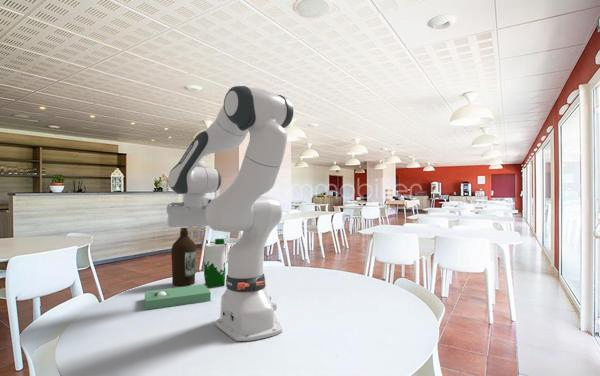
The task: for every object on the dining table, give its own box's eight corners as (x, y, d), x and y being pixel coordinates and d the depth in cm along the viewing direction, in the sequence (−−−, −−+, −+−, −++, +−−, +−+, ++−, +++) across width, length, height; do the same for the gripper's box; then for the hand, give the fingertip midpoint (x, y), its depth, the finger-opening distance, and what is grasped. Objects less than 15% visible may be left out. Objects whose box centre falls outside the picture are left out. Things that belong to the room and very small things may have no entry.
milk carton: (227, 286, 140) (227, 240, 141) (205, 288, 136) (205, 241, 137) (222, 281, 148) (223, 237, 149) (202, 283, 144) (202, 238, 145)
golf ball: (159, 304, 117) (169, 298, 119) (155, 296, 117) (164, 291, 118) (159, 301, 120) (168, 295, 122) (154, 293, 120) (163, 288, 121)
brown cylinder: (165, 285, 141) (166, 228, 142) (183, 279, 151) (183, 226, 152) (184, 288, 137) (184, 229, 138) (201, 282, 147) (201, 227, 148)
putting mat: (204, 291, 132) (204, 284, 132) (210, 300, 120) (210, 292, 120) (144, 299, 122) (144, 291, 122) (145, 309, 111) (145, 301, 111)
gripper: (167, 202, 118) (167, 240, 117) (222, 201, 128) (223, 236, 127) (165, 202, 124) (165, 238, 123) (219, 201, 133) (219, 235, 133)
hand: (195, 237), depth 125 cm, fingers closed
